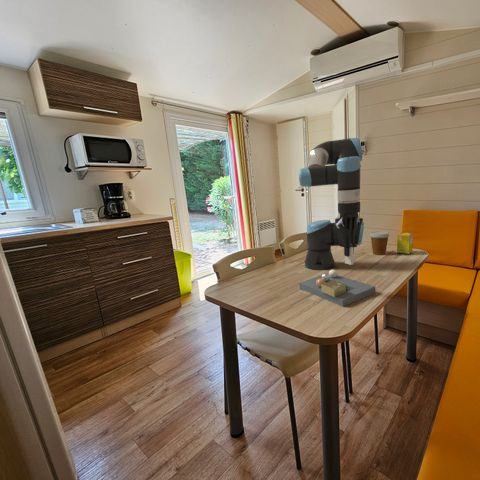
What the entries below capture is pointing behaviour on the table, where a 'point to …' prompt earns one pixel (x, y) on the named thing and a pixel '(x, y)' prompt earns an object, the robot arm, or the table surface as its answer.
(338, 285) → the brass cover
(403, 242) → the supplement box
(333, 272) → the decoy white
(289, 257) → the table surface
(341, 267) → the table surface
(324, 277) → the steel ball
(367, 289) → the slate plate
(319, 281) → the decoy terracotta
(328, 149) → the robot arm
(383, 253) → the disposable coffee cup
